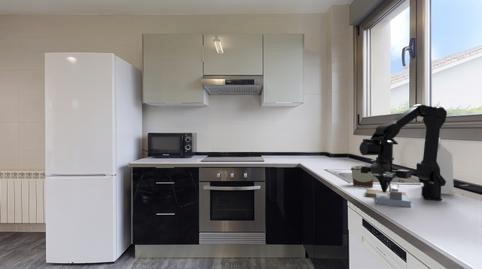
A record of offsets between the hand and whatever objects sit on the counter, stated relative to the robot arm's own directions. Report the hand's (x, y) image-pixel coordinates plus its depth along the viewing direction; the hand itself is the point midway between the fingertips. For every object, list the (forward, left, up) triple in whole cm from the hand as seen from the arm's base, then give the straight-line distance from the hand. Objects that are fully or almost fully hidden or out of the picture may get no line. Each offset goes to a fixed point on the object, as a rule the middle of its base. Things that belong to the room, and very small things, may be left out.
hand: (384, 192), depth 120 cm
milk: (-24, -33, -4) cm, 41 cm away
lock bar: (-4, -3, -1) cm, 5 cm away
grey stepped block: (-3, +1, -4) cm, 5 cm away
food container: (+9, -31, -4) cm, 32 cm away
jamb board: (-1, -9, -4) cm, 10 cm away
